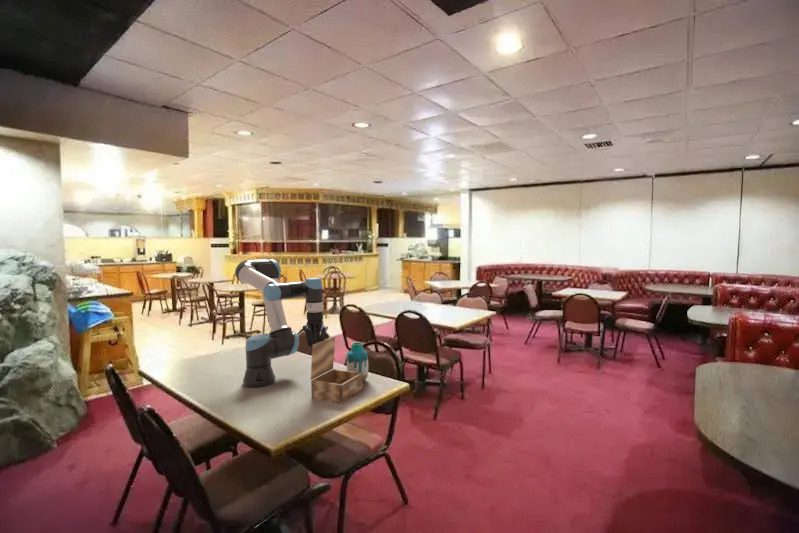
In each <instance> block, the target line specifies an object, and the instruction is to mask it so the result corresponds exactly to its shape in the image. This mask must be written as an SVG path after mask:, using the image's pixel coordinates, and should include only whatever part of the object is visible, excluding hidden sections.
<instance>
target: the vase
mask: <svg viewBox="0 0 799 533" xmlns="http://www.w3.org/2000/svg"><path fill="white" fill-rule="evenodd" d="M363 344H364V343H362V342H360V341H359V342H352V343H351V350H349V351H348V352H347V355H346V371H352V372H359V373H363V382H364V381H366V380H367V379H368V375H369V356H368V353H367V351H366V350H364V345H363Z"/></svg>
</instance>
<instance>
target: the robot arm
mask: <svg viewBox="0 0 799 533" xmlns="http://www.w3.org/2000/svg"><path fill="white" fill-rule="evenodd" d="M234 275H235V278H236V279H237V280H238V281H239V282H240V283H241V284H245V285H249V286H251V287H253V288H255V289H256V290H258V291H260V292H261V295H262V299H263V303H264V306H265V311H266V315H267V319H268V323H269V327H270V331H269V332H268V333H258V334H254V335H251V336H250V337H248V338H247V339H246V340H245V348H244V349H245V361H246V362H245V363H246V366H245V367H246V368H245V369H246V370H245V372H244V376H243V379H242V382H243V383H242V384H243V386H244V387H247V388H261V387H262V388H263V387H266V386H267V387H268V386H269V385H273V384H274V383H275V382H276V375H275V373H274V370H273V367H272V360H273V359H277V358H278V359H279V358H282V357H288V356H290V355H295V353H297V350H298V348H299V347H300V346H299V345H300V340H299V339H300V338H299V335H298V333H297V332H296V331H293V329H292V327H291V326H289V325H288V321H287V319H286V314H285V312H284V307H283V303H282V300H289V299H290V300H291V299H298V298H305V303H306V304H305V306H306V320H307V321H306V324H303V325H302V329H303V330H304V333H305V334H304V335H305V339H306V342H307V346H308V347H310V348H311V349H312V345H313V344H316V343H318V342H321V341H324V340H326V335H327V331H328V329H329V327H328V326H327V325H325V324H324V311H323V310H324V304H323V303H324V302H323V300H324V298H323V296H324V295H323V287H324V286H323V280H322V278H320V277H308V278H306V279H305V281H302V280H295V281H293V282H279V281H280V278H281V276H282V269H281V266H280V264H279V262H278V261H277V260H276V259H274V258H263V259H262V258H261V259H246V260H243V261H240V263H238V264H237V265H236V267H235V270H234Z"/></svg>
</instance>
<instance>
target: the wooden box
mask: <svg viewBox="0 0 799 533" xmlns="http://www.w3.org/2000/svg"><path fill="white" fill-rule="evenodd" d="M310 382H311V383H310V384H311V386H310V387H311V399H314V400H319V401H325V402H330V403H337V404H340V405H341V404H342V405H343V404H344V403H346V402H347V401H349V400H350V399H352V398H353V397H355V396H356V395H358V394H359V393H360V392H362V391H364V381H363V373H359V372H352V371H347V370H344V369H338V368H337V369H336V368H333V369H332V370H330V371H328V372H326V373H324V374H322V375H320V376H318V377H316V378H314V379H312V380H310ZM351 397H352V398H351Z"/></svg>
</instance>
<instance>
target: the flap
mask: <svg viewBox="0 0 799 533" xmlns="http://www.w3.org/2000/svg"><path fill="white" fill-rule="evenodd" d="M335 345H336V336H331V337H329V338H325V340H324V341H321V342H318V343H316V344H313V345H312V348H311V363H310V364H311V366H310V381H312V380H313V379H315V378H317V377H319V376H321V375H323V374H325V373H327V372H329V371H331V370H333V369H334V361H335V360H334V359H335V358H334V357H335Z"/></svg>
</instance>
